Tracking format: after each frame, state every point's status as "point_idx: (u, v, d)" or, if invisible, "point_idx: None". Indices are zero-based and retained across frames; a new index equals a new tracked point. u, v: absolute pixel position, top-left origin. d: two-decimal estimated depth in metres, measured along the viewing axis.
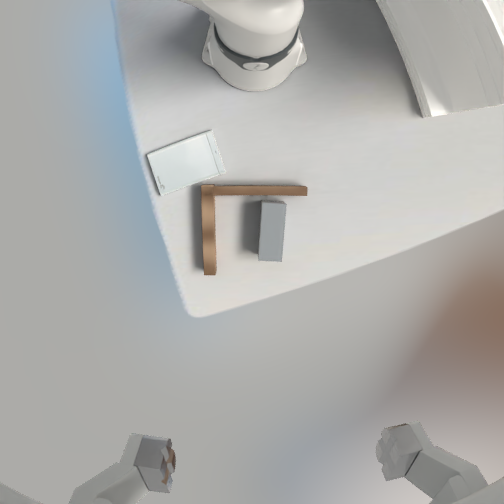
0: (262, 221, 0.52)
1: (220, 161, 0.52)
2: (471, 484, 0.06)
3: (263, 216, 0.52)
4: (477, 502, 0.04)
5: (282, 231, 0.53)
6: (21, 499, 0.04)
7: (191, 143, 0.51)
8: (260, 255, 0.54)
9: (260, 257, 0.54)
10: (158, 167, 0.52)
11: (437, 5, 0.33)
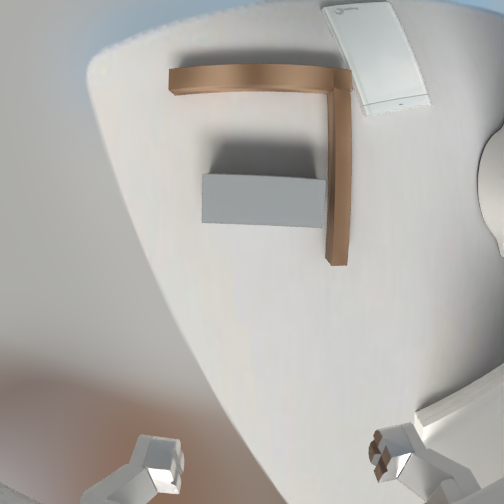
0: (287, 180, 0.25)
1: (386, 109, 0.25)
2: (463, 488, 0.06)
3: (298, 182, 0.25)
4: (477, 502, 0.04)
5: (267, 221, 0.25)
6: (21, 499, 0.04)
7: (412, 68, 0.24)
8: (213, 177, 0.24)
9: (209, 177, 0.24)
10: (371, 12, 0.22)
11: None
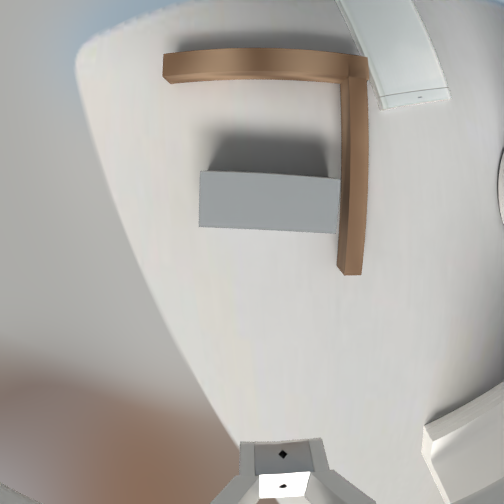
0: (297, 178, 0.21)
1: (404, 102, 0.22)
2: None
3: (309, 181, 0.21)
4: (477, 502, 0.04)
5: (273, 225, 0.22)
6: (21, 499, 0.04)
7: (431, 59, 0.21)
8: (212, 175, 0.21)
9: (207, 175, 0.21)
10: None
11: None
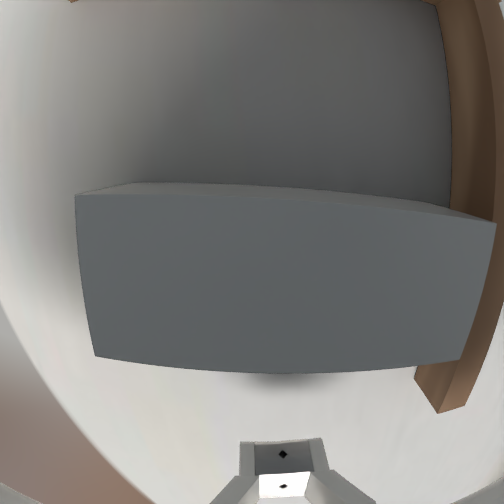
0: (398, 219, 0.06)
1: None
2: None
3: (428, 228, 0.06)
4: (477, 502, 0.04)
5: (311, 361, 0.07)
6: (21, 499, 0.04)
7: None
8: (111, 207, 0.06)
9: (96, 208, 0.06)
10: None
11: None
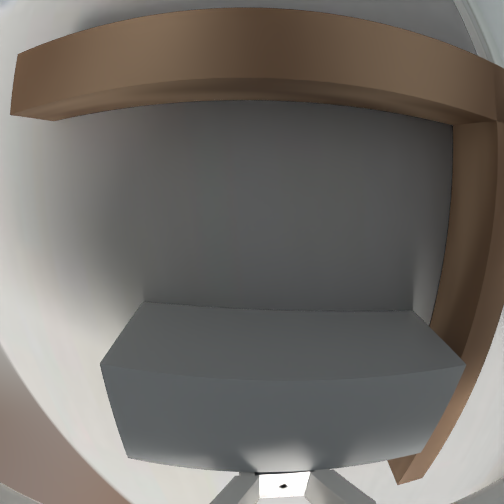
0: (373, 383, 0.07)
1: None
2: None
3: (399, 383, 0.07)
4: (477, 502, 0.04)
5: (296, 465, 0.08)
6: (21, 499, 0.04)
7: None
8: (134, 377, 0.07)
9: (121, 375, 0.07)
10: None
11: None
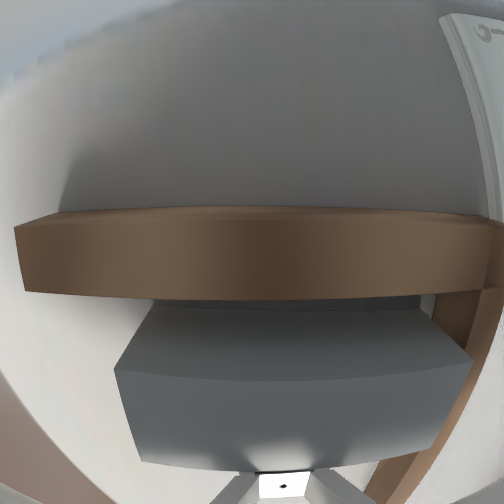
0: (384, 381, 0.07)
1: None
2: None
3: (410, 380, 0.07)
4: (477, 502, 0.04)
5: (309, 464, 0.08)
6: (21, 499, 0.04)
7: None
8: (149, 381, 0.07)
9: (135, 380, 0.07)
10: None
11: None
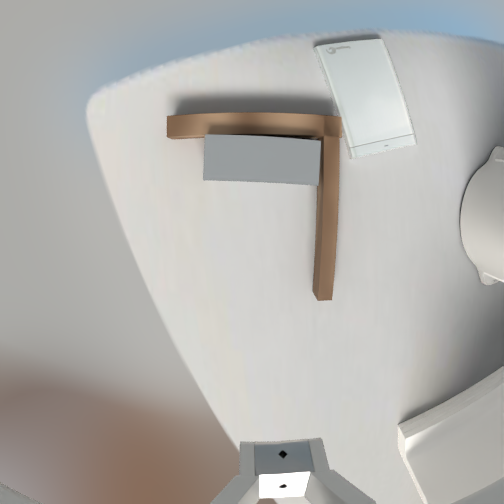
0: (284, 140, 0.25)
1: (371, 151, 0.28)
2: None
3: (294, 142, 0.25)
4: (477, 502, 0.04)
5: (265, 178, 0.26)
6: (21, 499, 0.04)
7: (400, 108, 0.27)
8: (215, 137, 0.25)
9: (211, 137, 0.25)
10: (363, 50, 0.25)
11: None
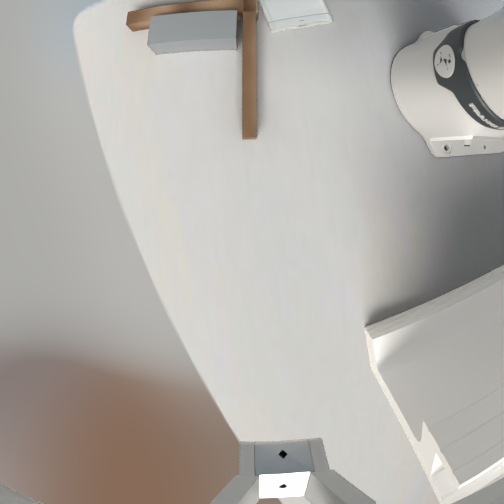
0: (208, 12, 0.27)
1: (288, 24, 0.29)
2: None
3: (216, 13, 0.27)
4: (477, 502, 0.04)
5: (193, 37, 0.27)
6: (21, 499, 0.04)
7: None
8: (158, 17, 0.27)
9: (155, 18, 0.27)
10: None
11: None
